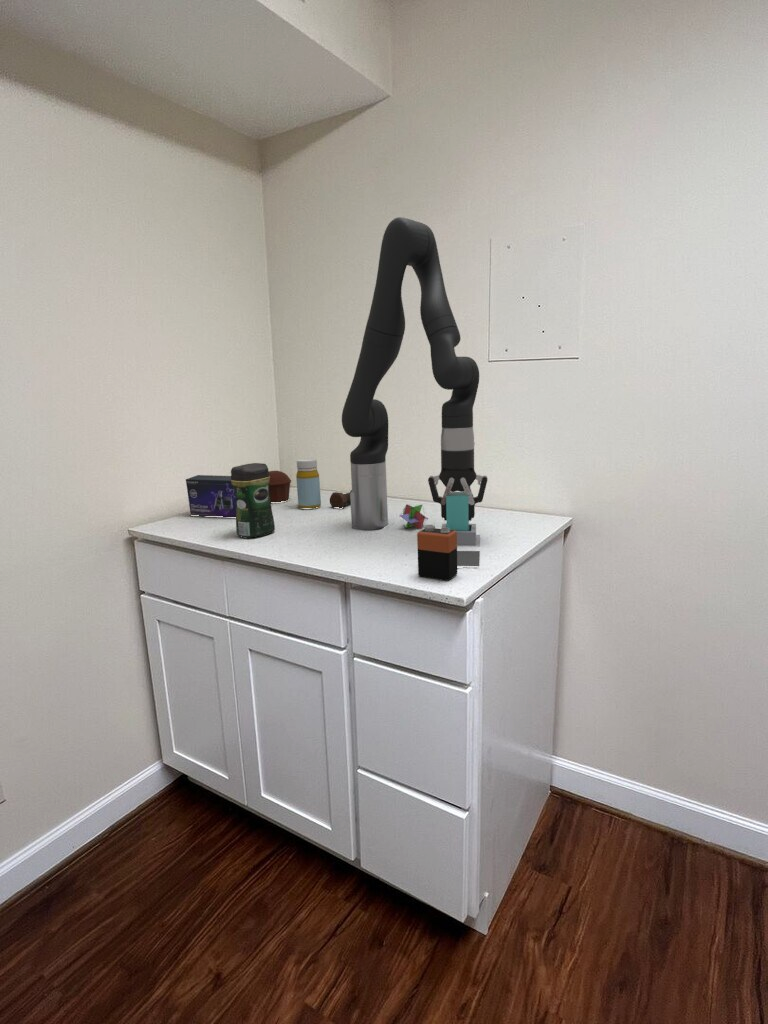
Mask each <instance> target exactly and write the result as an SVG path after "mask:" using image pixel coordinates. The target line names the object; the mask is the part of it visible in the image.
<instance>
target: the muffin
mask: <svg viewBox="0 0 768 1024" xmlns="http://www.w3.org/2000/svg"><path fill="white" fill-rule="evenodd" d="M268 471H269V475H270V480H269V496H270V502H281V501H286V500H288V499H289V500H290V490H291V489H290V488H291V482H292V480H291V479H290V477H289V476H288V474H286V473H285V472H283V471H281V470H268ZM286 502H287V501H286Z"/></svg>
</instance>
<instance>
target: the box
mask: <svg viewBox="0 0 768 1024" xmlns="http://www.w3.org/2000/svg"><path fill="white" fill-rule="evenodd" d="M185 484H186V485H185V486H186V489H187V498H188V506H189V512H190V516H191V515H199V516H223V517H236V497H235V490H234V487H233V485H232V483H231V475H215V474H214V475H212V474H211V475H208V474H207V475H206V474H205V475H203V474H197V475H195V476H191V477H188V478H185Z"/></svg>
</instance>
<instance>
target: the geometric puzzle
mask: <svg viewBox="0 0 768 1024" xmlns="http://www.w3.org/2000/svg"><path fill="white" fill-rule="evenodd" d="M422 508H423V511H424V514H422V513H421V511H422ZM425 514H427V513H426V511H425V508H424V505H423V504H415V506H412V505H411V504H408V503H406V504H405V506H404V507H403V509H402V511H401V513H400V515H399V518H402V521H403V522H405V521H406V522H407V523H406V527H405V524H403V527H405V529H409V528H412V527H415V528H417V529H419V530H423V527H424V526H425V524H426V523H425V521H428V519H429V517H428V516H426V515H425ZM404 520H405V521H404Z"/></svg>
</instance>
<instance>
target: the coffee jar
mask: <svg viewBox="0 0 768 1024" xmlns="http://www.w3.org/2000/svg"><path fill="white" fill-rule="evenodd" d="M269 471H270V470H269V468H268V465H267V464H266V463H260V462H253V463H246V464H241V465H236V466H232V467H231V469H230V476H231V483H232V485H233V487H234V490H235V497H236V519H235V528H236V535H237V536H239V537H240V536H242V537H241V538H243V537H249V538H251V537H255V538H258V537H257V536H260V537H263V536H266V535H269V534H271V532H272V533H274V532H275V530H276V525H275V520H274V514H273V509H272V504H271V502H270V496H269V480H270V475H269ZM265 534H266V535H265ZM262 535H263V536H262Z"/></svg>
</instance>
